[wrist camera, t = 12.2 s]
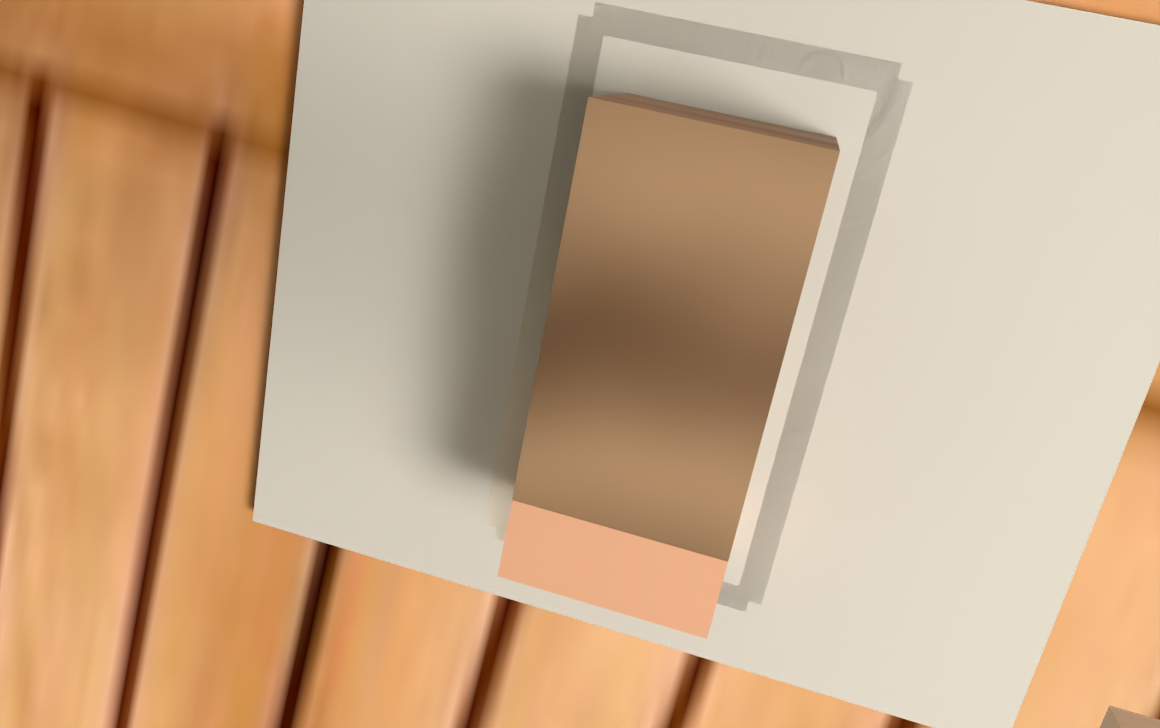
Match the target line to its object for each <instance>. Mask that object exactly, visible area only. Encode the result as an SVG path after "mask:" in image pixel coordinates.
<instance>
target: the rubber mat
mask: <svg viewBox="0 0 1160 728" xmlns="http://www.w3.org/2000/svg"><path fill="white" fill-rule="evenodd" d="M626 93H630V94H635V95H640V96H644V97H649V98H654V99H659V100H663V101H668V102H673V103H677V104H682V105H687V106H691V107H696V108H701V109H705V110H710V111H715V112H720V113H724V114H729V115H734V116H738V117H743V118H748V119H752V120H757V121H762V122H766V123H771V124H776V125H781V126H785V127H790V128H795V129H799V130H804V131H809V132H813V133H818V134H823V135H827V136H832V137H836V138H837V142H838V145H839V149H840V153H839V157H838V161H837V164H836V168H835V172H834V175H833V179H832V183H831V186H830V190H829V194H828V197H827V201H826V205H825V208H824V212H823V216H822V219H821V223H820V227H819V230H818V234H817V238H816V241H815V245H814V249H813V252H812V256H811V260H810V263H809V267H808V271H807V274H806V278H805V282H804V285H803V289H802V293H801V296H800V300H799V304H798V307H797V311H796V315H795V318H794V322H793V326H792V329H791V333H790V337H789V340H788V344H787V348H786V351H785V355H784V359H783V362H782V366H781V370H780V373H779V377H778V381H777V384H776V388H775V392H774V395H773V399H772V403H771V406H770V410H769V414H768V417H767V421H766V425H765V428H764V432H763V436H762V439H761V443H760V447H759V450H758V454H757V458H756V461H755V465H754V469H753V472H752V476H751V480H750V483H749V487H748V491H747V494H746V498H745V502H744V505H743V509H742V513H741V516H740V520H739V524H738V527H737V531H736V535H735V538H734V542H733V546H732V549H731V553H730V557H729V560H728V564H727V568H726V571H725V575H724V579H723V582H722V586H721V590H720V593H719V597H718V601H717V604H716V608H715V612H714V615H713V619H712V623H711V626H710V630H709V634H708V637H707V639H705V638H702V637H699V636H695V635H692V634H689V633H685V632H682V631H679V630H675V629H672V628H669V627H665V626H662V625H659V624H655V623H652V622H649V621H645V620H642V619H639V618H635V617H632V616H629V615H625V614H622V613H619V612H615V611H612V610H609V609H605V608H602V607H599V606H595V605H592V604H589V603H585V602H582V601H578V600H575V599H572V598H568V597H565V596H562V595H558V594H555V593H552V592H548V591H545V590H542V589H538V588H535V587H532V586H528V585H525V584H522V583H518V582H515V581H512V580H508V579H505V578H502V577H498V571H499V566H500V560H501V555H502V550H503V545H504V539H505V534H506V529H507V523H508V518H509V513H510V508H511V502H512V497H513V492H514V487H515V481H516V476H517V471H518V465H519V460H520V455H521V450H522V444H523V439H524V434H525V428H526V423H527V418H528V413H529V407H530V402H531V397H532V391H533V386H534V381H535V376H536V370H537V365H538V360H539V354H540V349H541V344H542V339H543V333H544V328H545V323H546V317H547V312H548V307H549V302H550V296H551V291H552V286H553V281H554V275H555V270H556V265H557V259H558V254H559V249H560V244H561V238H562V233H563V228H564V222H565V217H566V212H567V207H568V201H569V196H570V191H571V185H572V180H573V175H574V170H575V164H576V159H577V154H578V148H579V143H580V138H581V133H582V127H583V122H584V117H585V111H586V106H587V101H588V97H593V96H604V95H615V94H626ZM1159 362H1160V25H1155V24H1150V23H1145V22H1139V21H1134V20H1129V19H1123V18H1118V17H1113V16H1107V15H1102V14H1097V13H1091V12H1086V11H1081V10H1075V9H1070V8H1065V7H1059V6H1054V5H1048V4H1043V3H1038V2H1032V1H1027V0H304V7H303V17H302V27H301V37H300V48H299V58H298V68H297V78H296V88H295V98H294V108H293V118H292V129H291V139H290V149H289V159H288V169H287V179H286V189H285V199H284V209H283V220H282V230H281V240H280V250H279V260H278V270H277V280H276V290H275V301H274V311H273V321H272V331H271V341H270V351H269V361H268V371H267V382H266V392H265V402H264V412H263V422H262V432H261V442H260V452H259V463H258V473H257V483H256V493H255V503H254V513H253V521H255V522H258V523H261V524H265V525H268V526H271V527H275V528H278V529H281V530H284V531H288V532H291V533H294V534H298V535H301V536H304V537H308V538H311V539H314V540H317V541H321V542H324V543H327V544H331V545H334V546H337V547H340V548H344V549H347V550H350V551H354V552H357V553H360V554H363V555H367V556H370V557H373V558H377V559H380V560H383V561H387V562H390V563H393V564H396V565H400V566H403V567H406V568H410V569H413V570H416V571H419V572H423V573H426V574H429V575H433V576H436V577H439V578H442V579H446V580H449V581H452V582H456V583H459V584H462V585H466V586H469V587H472V588H475V589H479V590H482V591H485V592H489V593H492V594H495V595H498V596H502V597H505V598H508V599H512V600H515V601H518V602H521V603H525V604H528V605H531V606H535V607H538V608H541V609H545V610H548V611H551V612H554V613H558V614H561V615H564V616H568V617H571V618H574V619H577V620H581V621H584V622H587V623H591V624H594V625H597V626H600V627H604V628H607V629H610V630H614V631H617V632H620V633H624V634H627V635H630V636H633V637H637V638H640V639H643V640H647V641H650V642H653V643H656V644H660V645H663V646H666V647H670V648H673V649H676V650H679V651H683V652H686V653H689V654H693V655H696V656H699V657H703V658H706V659H709V660H712V661H716V662H719V663H722V664H726V665H729V666H732V667H735V668H739V669H742V670H745V671H749V672H752V673H755V674H758V675H762V676H765V677H768V678H772V679H775V680H778V681H782V682H785V683H788V684H791V685H795V686H798V687H801V688H805V689H808V690H811V691H814V692H818V693H821V694H824V695H828V696H831V697H834V698H837V699H841V700H844V701H847V702H851V703H854V704H857V705H861V706H864V707H867V708H870V709H874V710H877V711H880V712H884V713H887V714H890V715H893V716H897V717H900V718H903V719H907V720H910V721H913V722H916V723H920V724H923V725H926V726H930V727H933V728H1012V727H1013V725H1014V722H1015V720H1016V717H1017V715H1018V712H1019V710H1020V707H1021V705H1022V702H1023V700H1024V697H1025V695H1026V692H1027V690H1028V687H1029V685H1030V682H1031V680H1032V677H1033V675H1034V672H1035V670H1036V668H1037V665H1038V663H1039V660H1040V658H1041V655H1042V653H1043V650H1044V648H1045V645H1046V643H1047V640H1048V638H1049V635H1050V633H1051V630H1052V628H1053V625H1054V623H1055V620H1056V618H1057V615H1058V613H1059V610H1060V608H1061V605H1062V603H1063V600H1064V598H1065V596H1066V593H1067V591H1068V588H1069V586H1070V583H1071V581H1072V578H1073V576H1074V573H1075V571H1076V568H1077V566H1078V563H1079V561H1080V558H1081V556H1082V553H1083V551H1084V548H1085V546H1086V543H1087V541H1088V538H1089V536H1090V533H1091V531H1092V528H1093V526H1094V523H1095V521H1096V519H1097V516H1098V514H1099V511H1100V509H1101V506H1102V504H1103V501H1104V499H1105V496H1106V494H1107V491H1108V489H1109V486H1110V484H1111V481H1112V479H1113V476H1114V474H1115V471H1116V469H1117V466H1118V464H1119V461H1120V459H1121V456H1122V454H1123V451H1124V449H1125V447H1126V444H1127V442H1128V439H1129V437H1130V434H1131V432H1132V429H1133V427H1134V424H1135V422H1136V419H1137V417H1138V414H1139V412H1140V409H1141V407H1142V404H1143V402H1144V399H1145V397H1146V394H1147V392H1148V389H1149V387H1150V384H1151V382H1152V379H1153V377H1154V375H1155V372H1156V370H1157V367H1158V365H1159Z"/></svg>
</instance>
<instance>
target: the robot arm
mask: <svg viewBox="0 0 1160 728" xmlns="http://www.w3.org/2000/svg"><path fill="white" fill-rule="evenodd" d="M1100 728H1160V720H1158V719H1154V718H1151V717H1147V716H1144V715H1140V714H1137V713H1133V712H1130V711H1126V710H1123V709H1120V708H1116V707H1113V706H1109V708H1108V710H1107V712H1106V715H1105V717H1104V719H1103V722H1102V724H1101V726H1100Z"/></svg>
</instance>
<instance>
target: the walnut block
mask: <svg viewBox="0 0 1160 728" xmlns="http://www.w3.org/2000/svg"><path fill="white" fill-rule="evenodd" d="M839 153H840V149H839V145H838V142H837V138H836V137H832V136H827V135H823V134H818V133H813V132H809V131H804V130H799V129H795V128H790V127H785V126H781V125H776V124H771V123H766V122H762V121H757V120H752V119H748V118H743V117H738V116H734V115H729V114H724V113H720V112H715V111H710V110H705V109H701V108H696V107H691V106H687V105H682V104H677V103H673V102H668V101H663V100H659V99H654V98H649V97H644V96H640V95H635V94H630V93H626V94H615V95H604V96H593V97H588V101H587V106H586V111H585V117H584V122H583V127H582V133H581V138H580V143H579V148H578V154H577V159H576V164H575V170H574V175H573V180H572V185H571V191H570V196H569V201H568V207H567V212H566V217H565V222H564V228H563V233H562V238H561V244H560V249H559V254H558V259H557V265H556V270H555V275H554V281H553V286H552V291H551V296H550V302H549V307H548V312H547V317H546V323H545V328H544V333H543V339H542V344H541V349H540V354H539V360H538V365H537V370H536V376H535V381H534V386H533V391H532V397H531V402H530V407H529V413H528V418H527V423H526V428H525V434H524V439H523V444H522V450H521V455H520V460H519V465H518V471H517V476H516V481H515V487H514V492H513V497H512V502H511V508H510V513H509V518H508V523H507V529H506V534H505V539H504V545H503V550H502V555H501V560H500V566H499V571H498V577H502V578H505V579H508V580H512V581H515V582H518V583H522V584H525V585H528V586H532V587H535V588H538V589H542V590H545V591H548V592H552V593H555V594H558V595H562V596H565V597H568V598H572V599H575V600H578V601H582V602H585V603H589V604H592V605H595V606H599V607H602V608H605V609H609V610H612V611H615V612H619V613H622V614H625V615H629V616H632V617H635V618H639V619H642V620H645V621H649V622H652V623H655V624H659V625H662V626H665V627H669V628H672V629H675V630H679V631H682V632H685V633H689V634H692V635H695V636H699V637H702V638H705V639H707V637H708V634H709V630H710V626H711V623H712V619H713V615H714V612H715V608H716V604H717V601H718V597H719V593H720V590H721V586H722V582H723V579H724V575H725V571H726V568H727V564H728V560H729V557H730V553H731V549H732V546H733V542H734V538H735V535H736V531H737V527H738V524H739V520H740V516H741V513H742V509H743V505H744V502H745V498H746V494H747V491H748V487H749V483H750V480H751V476H752V472H753V469H754V465H755V461H756V458H757V454H758V450H759V447H760V443H761V439H762V436H763V432H764V428H765V425H766V421H767V417H768V414H769V410H770V406H771V403H772V399H773V395H774V392H775V388H776V384H777V381H778V377H779V373H780V370H781V366H782V362H783V359H784V355H785V351H786V348H787V344H788V340H789V337H790V333H791V329H792V326H793V322H794V318H795V315H796V311H797V307H798V304H799V300H800V296H801V293H802V289H803V285H804V282H805V278H806V274H807V271H808V267H809V263H810V260H811V256H812V252H813V249H814V245H815V241H816V238H817V234H818V230H819V227H820V223H821V219H822V216H823V212H824V208H825V205H826V201H827V197H828V194H829V190H830V186H831V183H832V179H833V175H834V172H835V168H836V164H837V161H838V157H839Z"/></svg>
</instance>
